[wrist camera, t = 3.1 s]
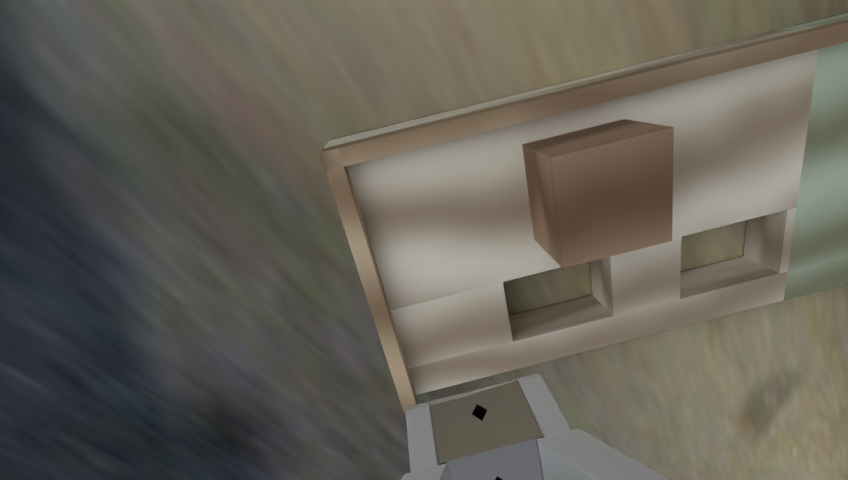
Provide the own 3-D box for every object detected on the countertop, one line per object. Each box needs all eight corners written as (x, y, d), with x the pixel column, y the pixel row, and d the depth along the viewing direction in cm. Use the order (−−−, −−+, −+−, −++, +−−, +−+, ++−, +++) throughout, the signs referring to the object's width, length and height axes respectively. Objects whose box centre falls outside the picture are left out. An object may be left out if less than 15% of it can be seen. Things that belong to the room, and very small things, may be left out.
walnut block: (521, 144, 19) (551, 157, 16) (623, 119, 19) (673, 127, 16) (534, 239, 21) (562, 268, 18) (627, 216, 21) (672, 240, 18)
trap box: (329, 140, 21) (317, 156, 16) (874, 6, 21) (996, -12, 17) (400, 370, 26) (405, 425, 22) (828, 260, 27) (911, 294, 23)
